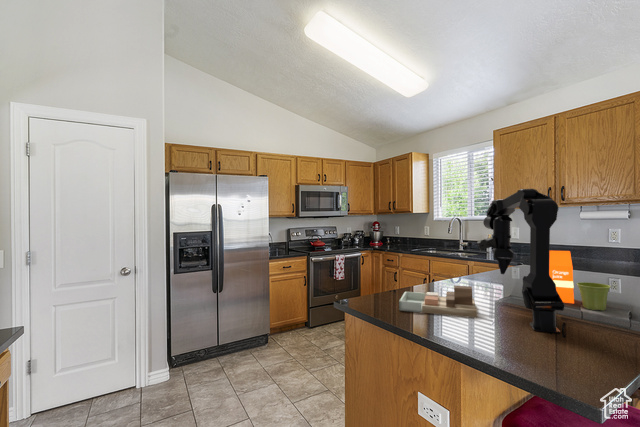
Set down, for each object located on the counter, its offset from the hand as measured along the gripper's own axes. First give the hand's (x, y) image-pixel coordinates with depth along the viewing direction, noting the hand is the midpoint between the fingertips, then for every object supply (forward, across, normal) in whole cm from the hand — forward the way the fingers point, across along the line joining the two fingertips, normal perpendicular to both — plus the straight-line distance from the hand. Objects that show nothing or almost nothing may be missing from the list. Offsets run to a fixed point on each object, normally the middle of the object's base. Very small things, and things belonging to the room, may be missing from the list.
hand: (501, 271), depth 120 cm
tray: (+13, +16, -32) cm, 38 cm away
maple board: (+12, +15, -18) cm, 27 cm away
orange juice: (+14, -14, +21) cm, 29 cm away
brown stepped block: (+10, +15, -15) cm, 23 cm away
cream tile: (+10, +12, -24) cm, 29 cm away
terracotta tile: (+10, +19, -24) cm, 32 cm away
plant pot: (+13, -4, +30) cm, 33 cm away
